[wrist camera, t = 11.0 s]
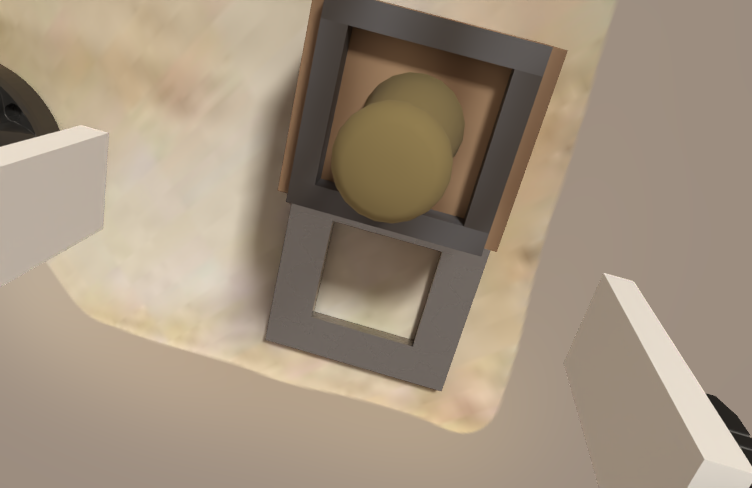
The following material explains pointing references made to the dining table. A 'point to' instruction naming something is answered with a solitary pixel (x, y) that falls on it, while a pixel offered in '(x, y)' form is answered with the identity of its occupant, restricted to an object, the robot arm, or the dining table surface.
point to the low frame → (359, 343)
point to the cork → (399, 148)
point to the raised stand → (456, 70)
